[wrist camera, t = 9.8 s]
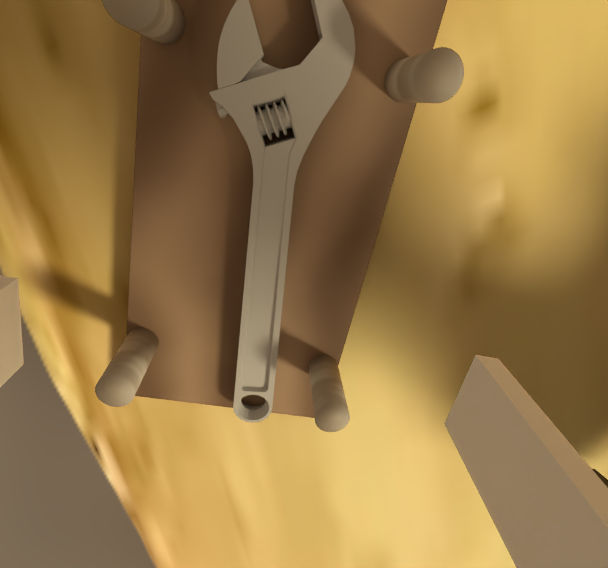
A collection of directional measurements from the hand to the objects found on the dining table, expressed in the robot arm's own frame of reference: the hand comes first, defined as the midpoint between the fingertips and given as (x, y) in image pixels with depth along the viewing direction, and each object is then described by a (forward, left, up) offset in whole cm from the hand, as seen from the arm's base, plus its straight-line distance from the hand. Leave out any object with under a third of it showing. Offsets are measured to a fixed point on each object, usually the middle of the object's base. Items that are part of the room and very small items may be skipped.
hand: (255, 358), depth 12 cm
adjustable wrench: (0, 0, -13) cm, 13 cm away
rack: (0, 0, -14) cm, 14 cm away
